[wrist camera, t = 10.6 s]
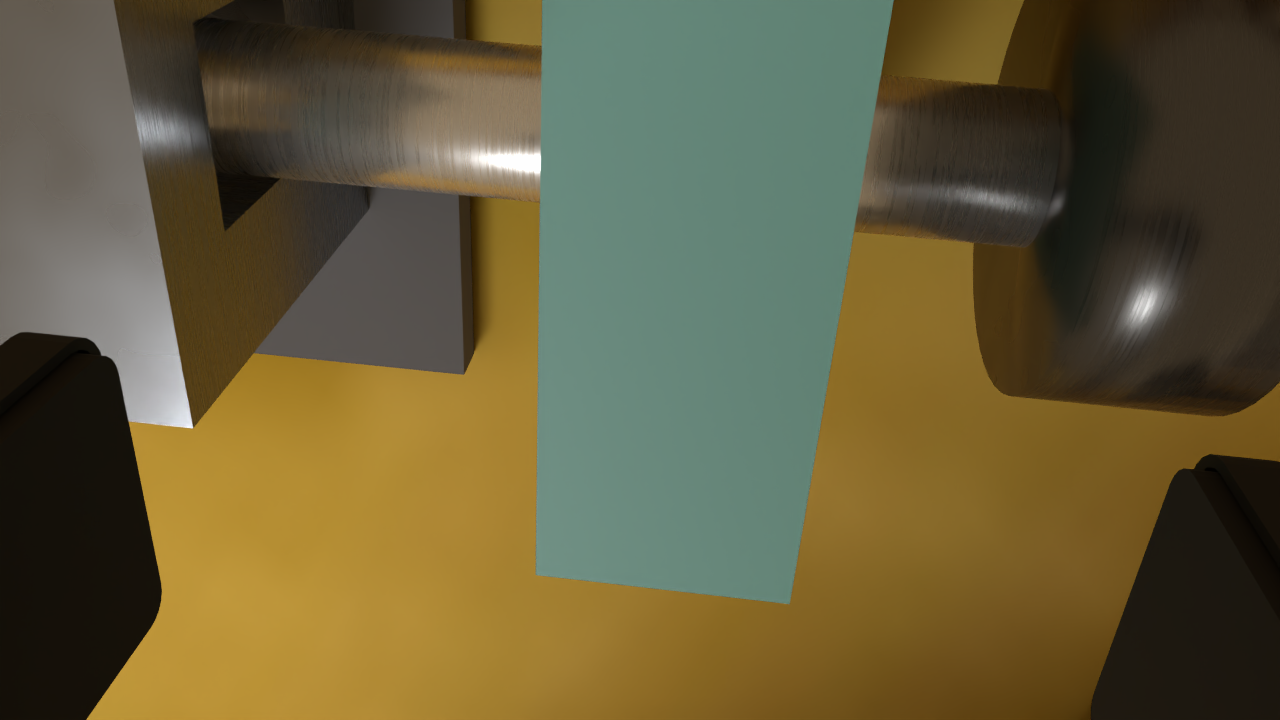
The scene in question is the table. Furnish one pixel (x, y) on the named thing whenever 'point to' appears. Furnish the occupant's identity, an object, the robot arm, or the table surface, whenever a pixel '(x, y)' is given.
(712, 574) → the spacer
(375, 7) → the base plate
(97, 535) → the robot arm
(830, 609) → the table surface
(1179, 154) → the shaft
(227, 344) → the bracket
